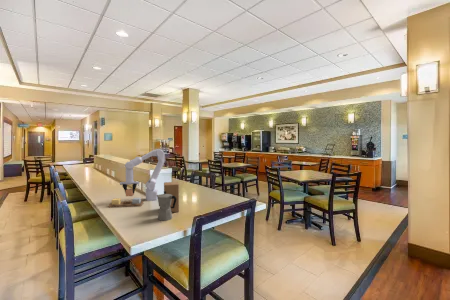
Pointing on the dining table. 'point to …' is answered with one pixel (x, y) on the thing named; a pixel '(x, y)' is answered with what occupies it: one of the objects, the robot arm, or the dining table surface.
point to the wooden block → (173, 194)
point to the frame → (126, 204)
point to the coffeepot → (165, 206)
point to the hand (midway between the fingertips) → (130, 193)
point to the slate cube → (136, 200)
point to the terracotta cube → (129, 192)
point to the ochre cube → (116, 201)
